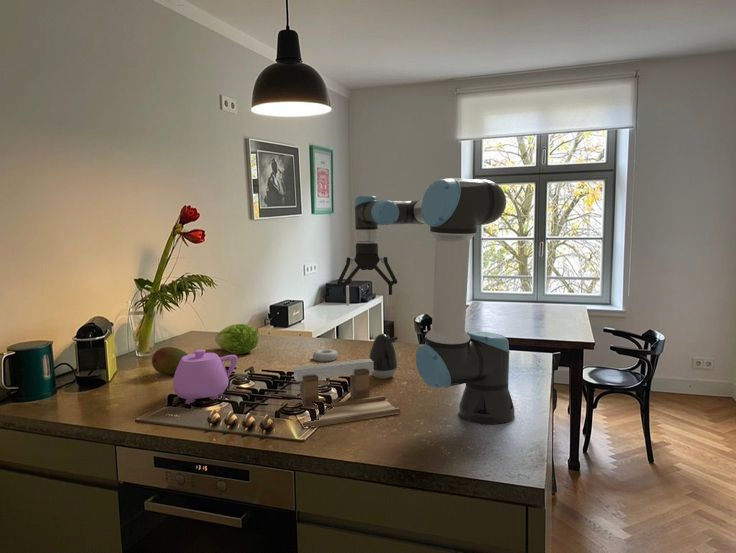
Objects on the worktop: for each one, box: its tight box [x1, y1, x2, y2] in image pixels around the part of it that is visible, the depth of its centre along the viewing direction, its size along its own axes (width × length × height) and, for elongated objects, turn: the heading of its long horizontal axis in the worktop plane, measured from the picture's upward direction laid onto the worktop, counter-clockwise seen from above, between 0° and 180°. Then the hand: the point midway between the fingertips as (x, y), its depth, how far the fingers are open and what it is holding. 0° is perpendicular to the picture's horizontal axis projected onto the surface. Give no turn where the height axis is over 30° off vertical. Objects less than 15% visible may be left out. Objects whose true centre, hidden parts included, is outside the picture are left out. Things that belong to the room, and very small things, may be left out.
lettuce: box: [214, 323, 259, 355], centre depth 221 cm, size 13×22×14 cm
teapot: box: [172, 348, 239, 405], centre depth 167 cm, size 20×20×15 cm
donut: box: [312, 348, 339, 363], centre depth 208 cm, size 10×3×10 cm
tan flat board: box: [301, 395, 401, 427], centre depth 149 cm, size 12×28×1 cm, turn 111°
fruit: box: [151, 346, 189, 375], centre depth 190 cm, size 12×12×10 cm
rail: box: [293, 358, 374, 383], centre depth 159 cm, size 4×24×4 cm, turn 111°
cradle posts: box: [299, 370, 371, 407], centre depth 159 cm, size 6×20×9 cm, turn 111°
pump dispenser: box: [368, 333, 399, 380], centre depth 183 cm, size 10×10×15 cm
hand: (367, 304), depth 179 cm, fingers open, 13 cm apart
